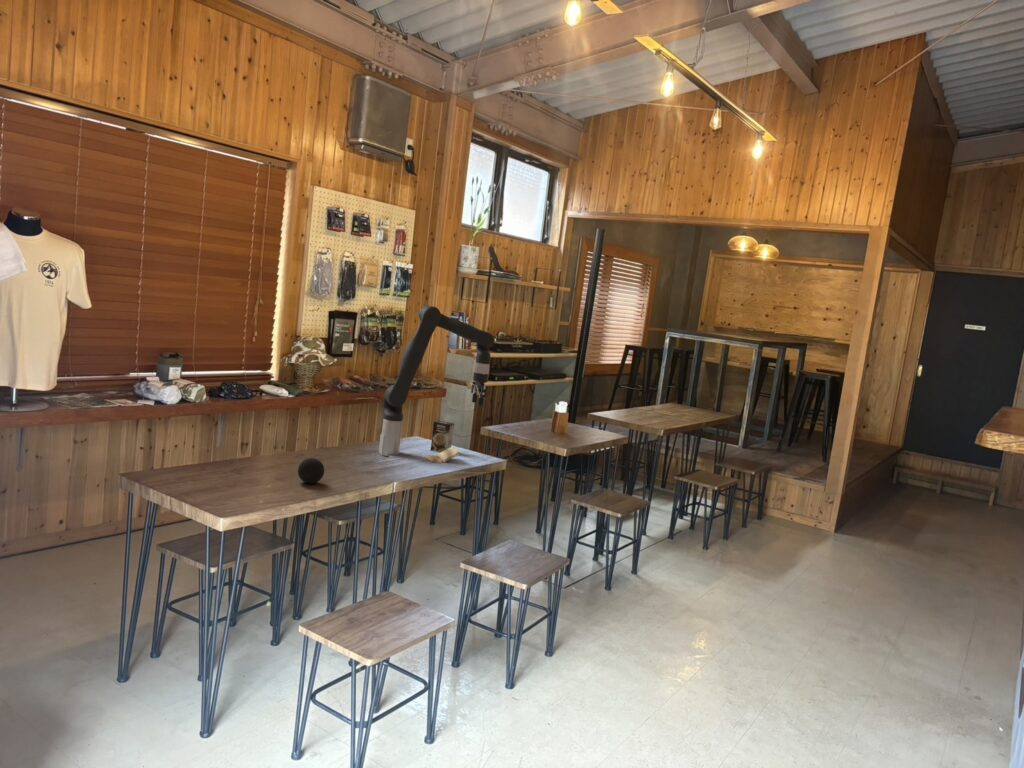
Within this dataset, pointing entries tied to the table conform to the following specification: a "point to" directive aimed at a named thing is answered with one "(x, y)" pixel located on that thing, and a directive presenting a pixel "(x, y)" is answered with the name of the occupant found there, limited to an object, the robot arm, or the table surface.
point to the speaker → (311, 470)
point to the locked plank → (433, 459)
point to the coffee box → (442, 436)
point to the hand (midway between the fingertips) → (477, 403)
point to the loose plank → (448, 454)
